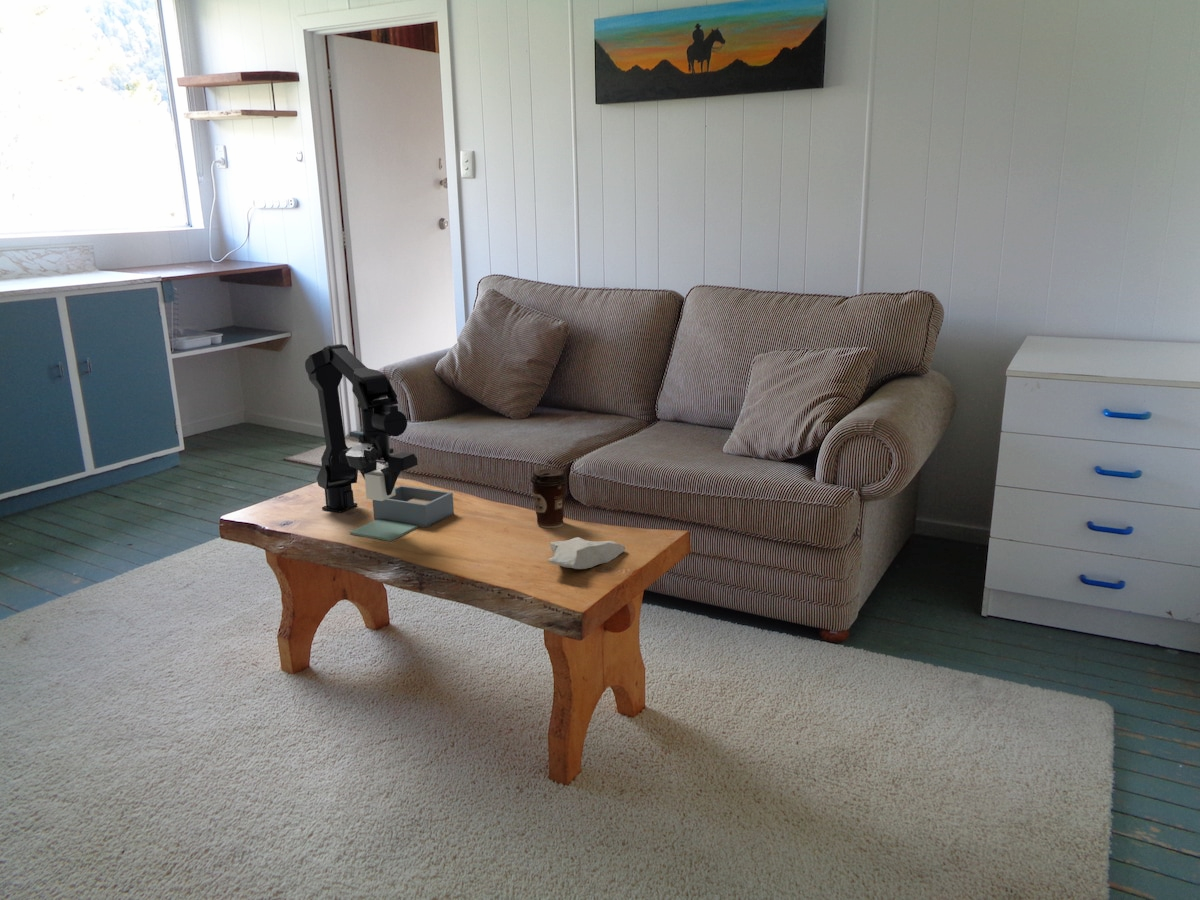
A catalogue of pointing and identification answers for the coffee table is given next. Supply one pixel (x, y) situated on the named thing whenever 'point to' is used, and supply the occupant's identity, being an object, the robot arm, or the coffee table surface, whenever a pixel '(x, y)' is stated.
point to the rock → (584, 553)
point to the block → (376, 486)
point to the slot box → (415, 506)
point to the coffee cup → (549, 497)
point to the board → (384, 530)
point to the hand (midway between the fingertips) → (380, 493)
